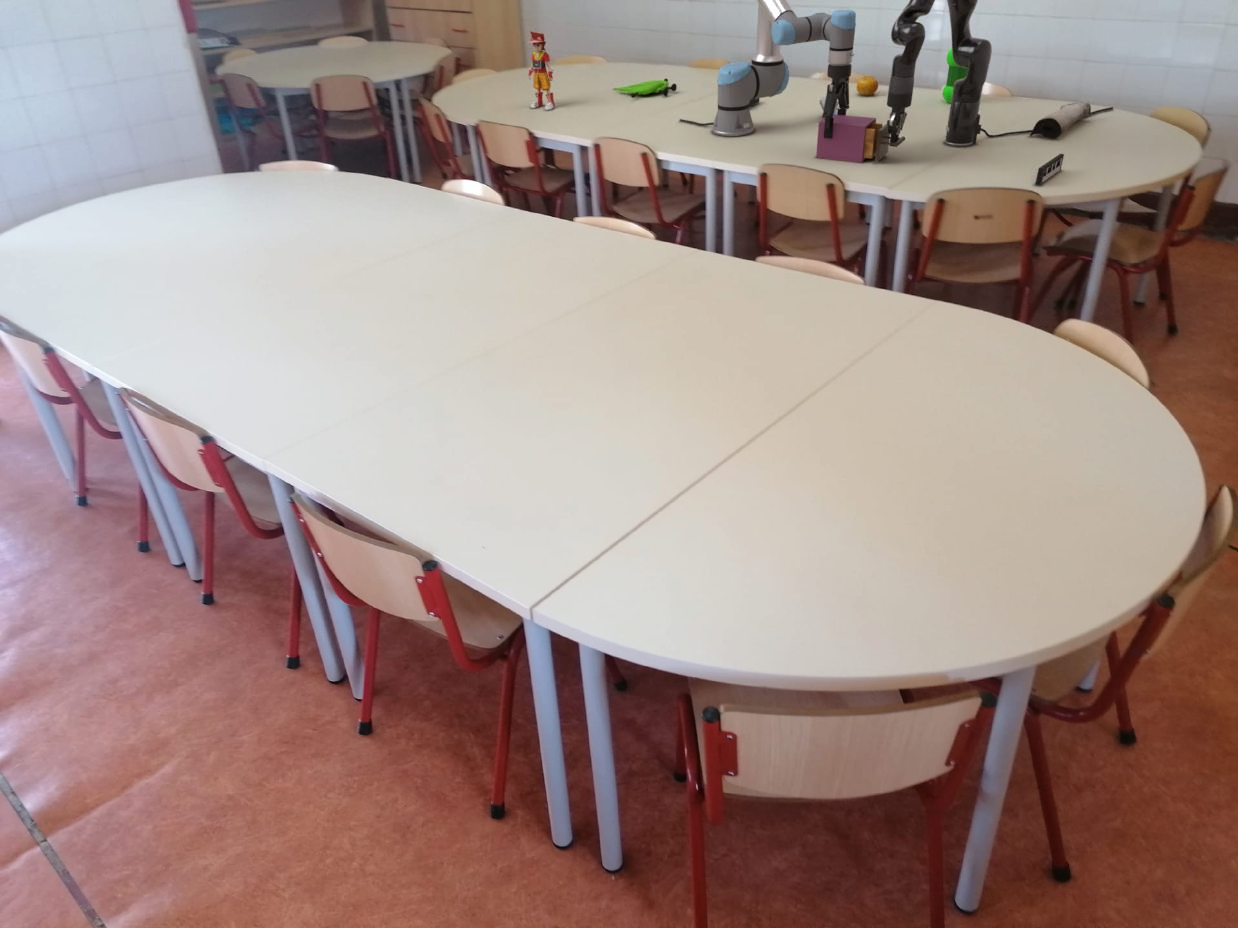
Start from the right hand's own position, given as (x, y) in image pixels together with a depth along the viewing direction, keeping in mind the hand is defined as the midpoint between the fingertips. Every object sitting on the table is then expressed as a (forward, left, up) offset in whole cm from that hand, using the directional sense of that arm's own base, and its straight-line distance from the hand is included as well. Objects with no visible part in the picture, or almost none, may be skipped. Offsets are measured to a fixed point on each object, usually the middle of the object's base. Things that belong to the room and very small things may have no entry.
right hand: (893, 146), depth 294 cm
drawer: (+6, -5, -4) cm, 8 cm away
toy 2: (+59, -131, -5) cm, 144 cm away
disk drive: (+25, -90, -5) cm, 94 cm away
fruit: (-28, -87, -5) cm, 92 cm away
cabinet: (+12, -11, -5) cm, 17 cm away
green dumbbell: (-55, -63, -5) cm, 83 cm away
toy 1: (+104, -120, -5) cm, 159 cm away
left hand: (+15, -14, +2) cm, 21 cm away
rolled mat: (-70, -15, -5) cm, 71 cm away
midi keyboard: (-36, +33, -5) cm, 49 cm away
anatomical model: (-2, -57, -5) cm, 58 cm away
